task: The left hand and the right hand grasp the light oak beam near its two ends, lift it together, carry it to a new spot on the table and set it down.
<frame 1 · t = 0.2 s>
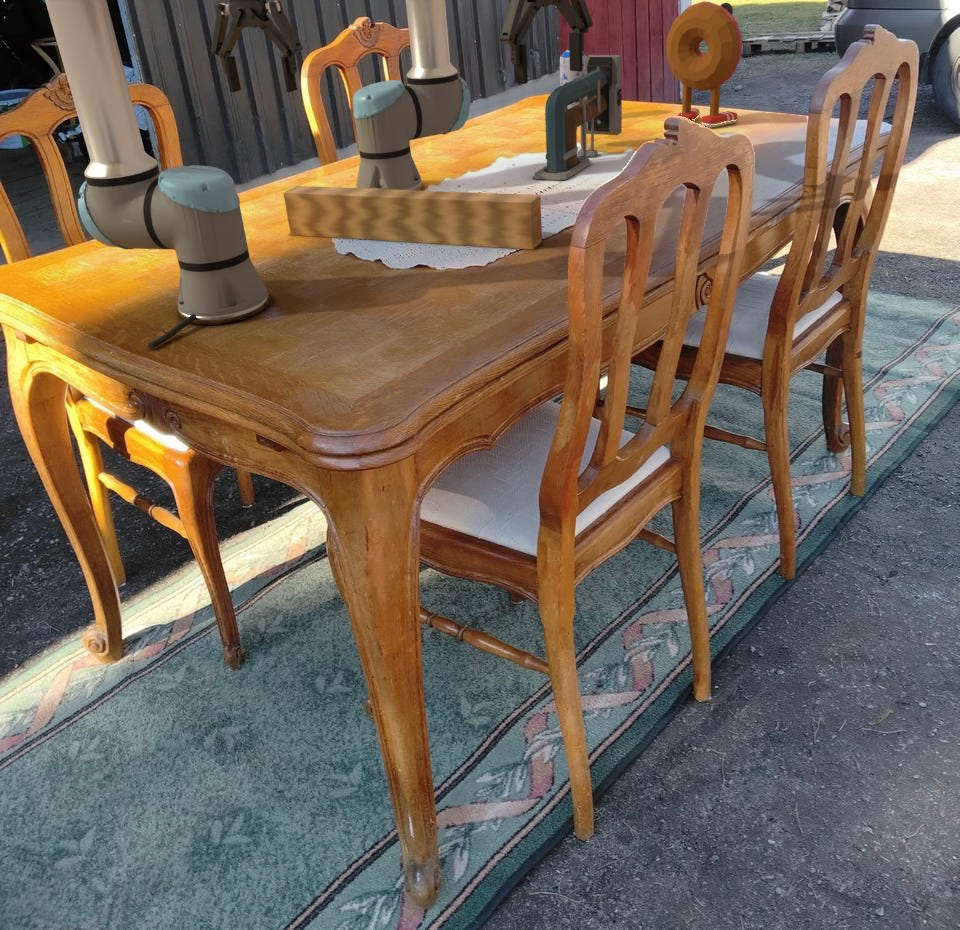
left hand: (263, 91, 196), 27 cm above the table, tool pointing down, fingers open, 13 cm apart
right hand: (549, 77, 178), 28 cm above the table, tool pointing down, fingers open, 13 cm apart
beam: (411, 237, 193), on the table
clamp: (578, 161, 236), on the table
aerosol can: (574, 120, 278), on the table
toy: (703, 124, 261), on the table
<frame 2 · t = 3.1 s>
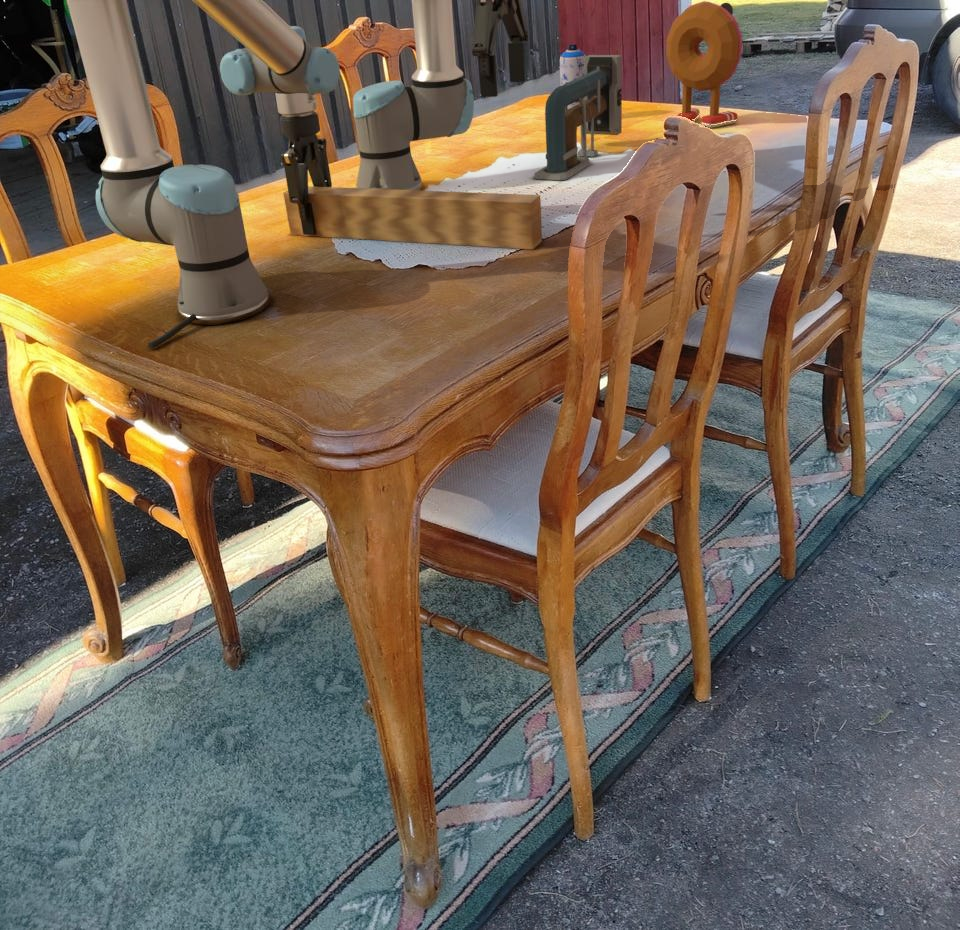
left hand: (317, 229, 201), 1 cm above the table, tool pointing down, fingers closed on beam, 5 cm apart
right hand: (504, 89, 171), 28 cm above the table, tool pointing down, fingers open, 13 cm apart
beam: (411, 237, 193), on the table, touching left hand
everything else where it was.
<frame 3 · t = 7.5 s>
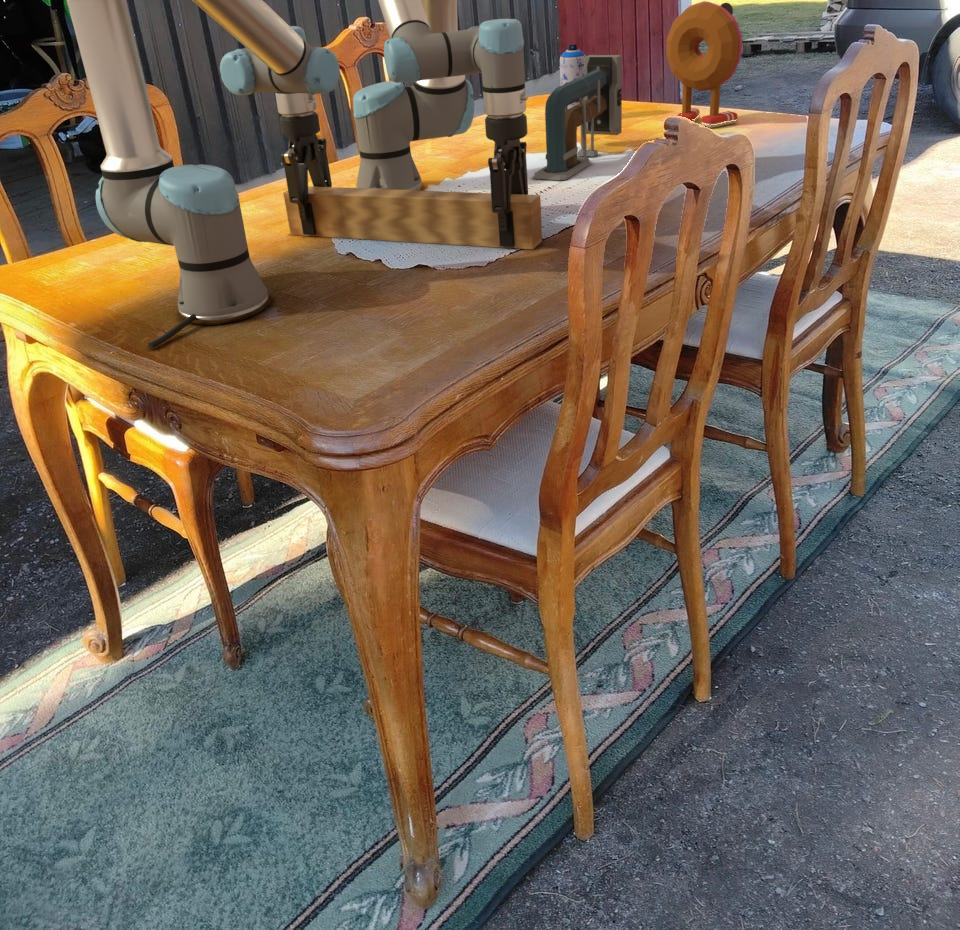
left hand: (317, 229, 201), 1 cm above the table, tool pointing down, fingers closed on beam, 5 cm apart
right hand: (512, 240, 185), 1 cm above the table, tool pointing down, fingers closed on beam, 5 cm apart
beam: (411, 237, 193), on the table, touching left hand, right hand
everything else where it was.
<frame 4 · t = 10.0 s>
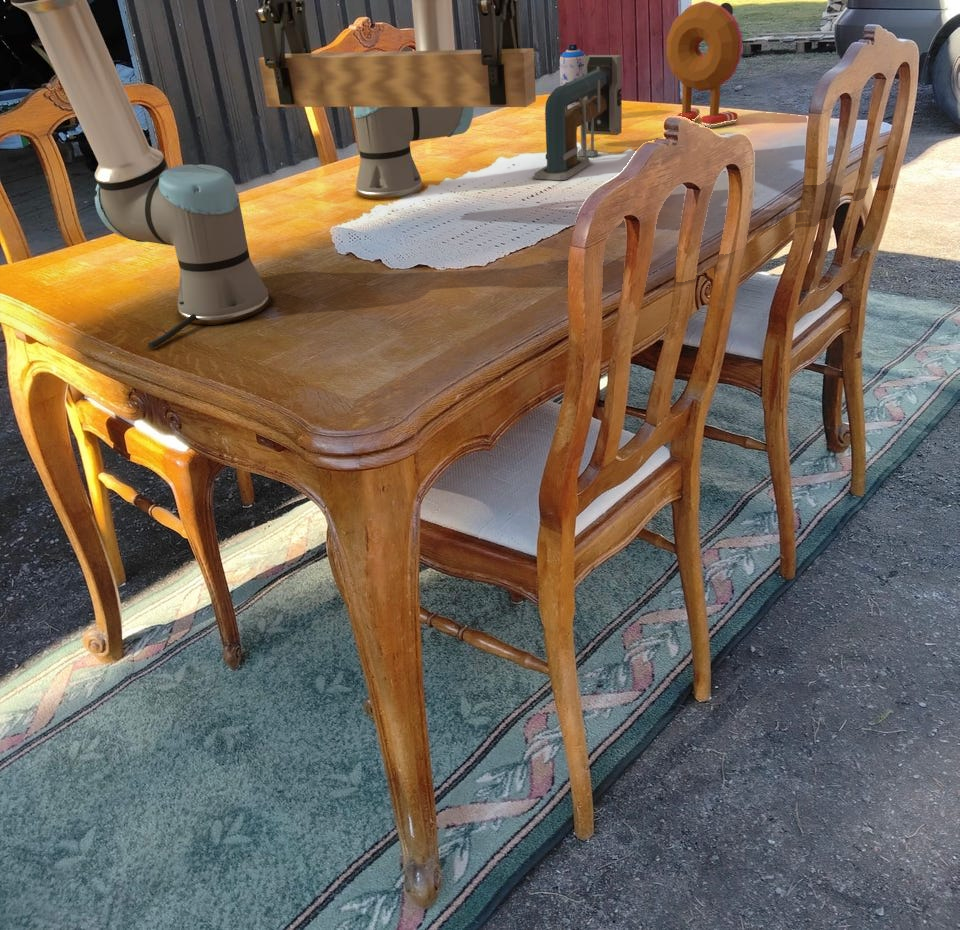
left hand: (295, 100, 188), 26 cm above the table, tool pointing down, fingers closed on beam, 5 cm apart
right hand: (504, 100, 172), 26 cm above the table, tool pointing down, fingers closed on beam, 5 cm apart
beam: (395, 104, 180), point 26 cm above the table, touching left hand, right hand
everything else where it was.
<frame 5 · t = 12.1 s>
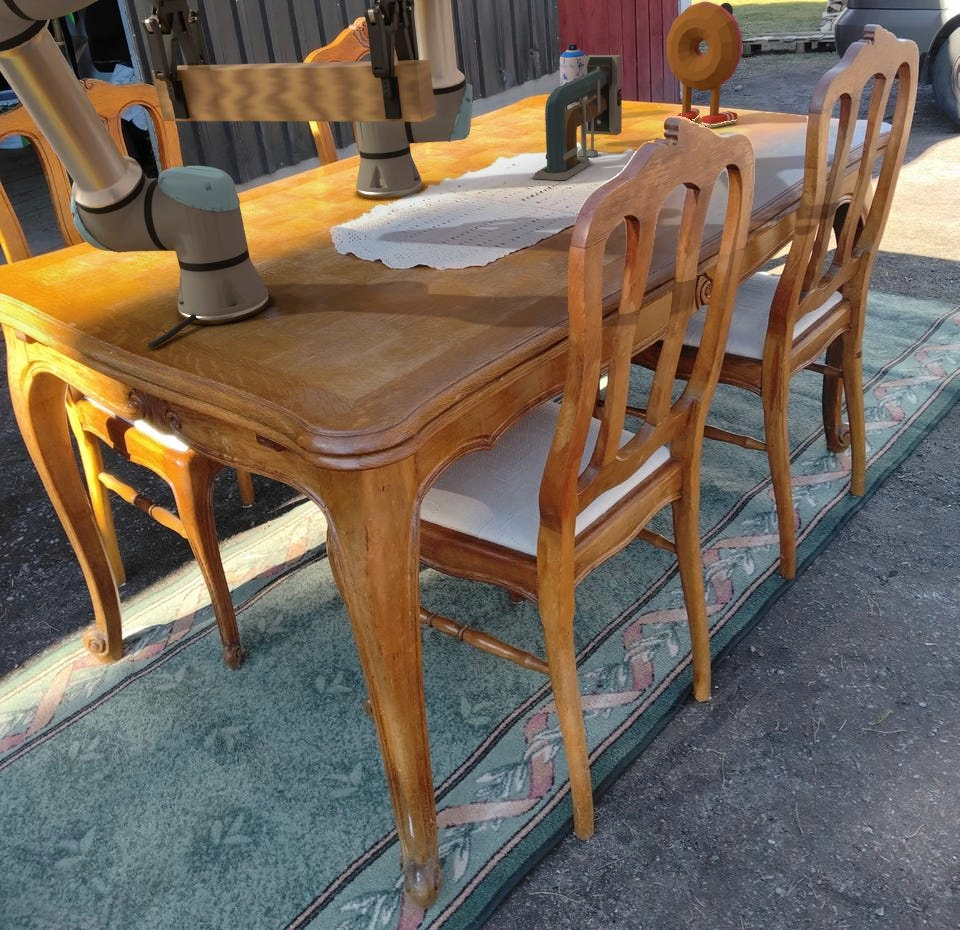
left hand: (192, 114, 179), 27 cm above the table, tool pointing down, fingers closed on beam, 5 cm apart
right hand: (401, 114, 163), 27 cm above the table, tool pointing down, fingers closed on beam, 5 cm apart
beam: (293, 118, 172), point 26 cm above the table, touching left hand, right hand
everything else where it was.
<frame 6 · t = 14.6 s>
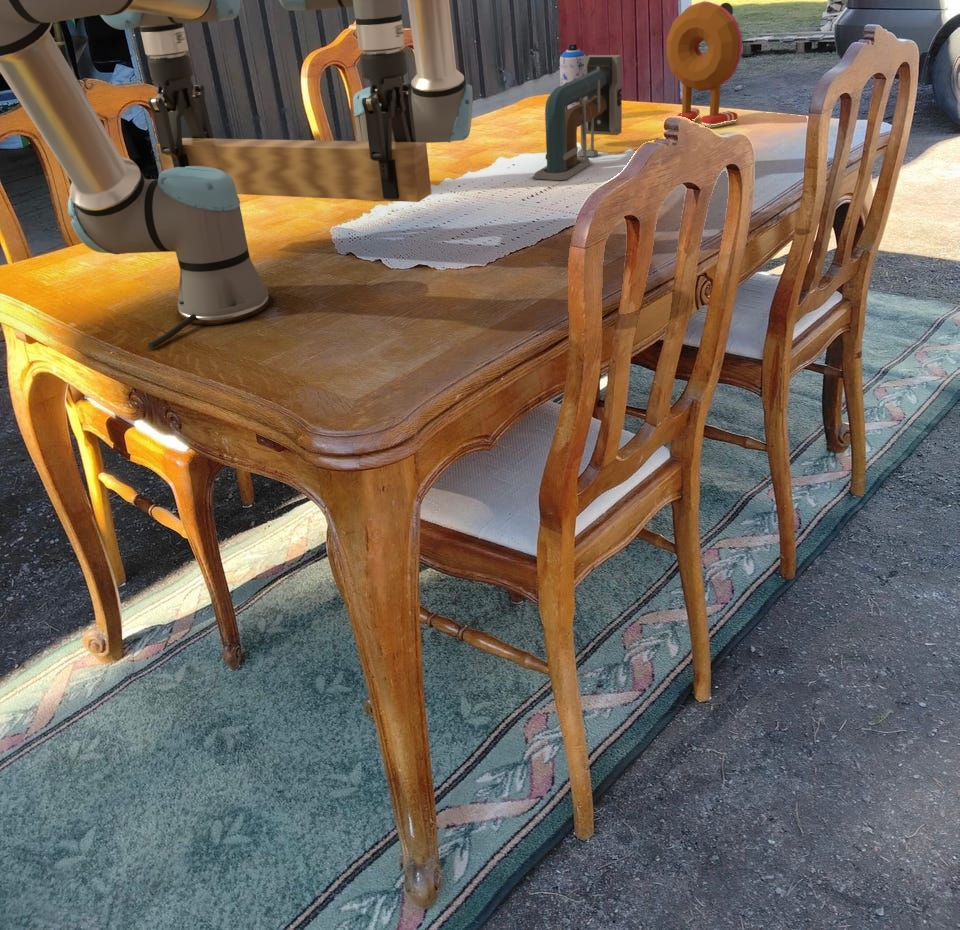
left hand: (197, 185, 185), 14 cm above the table, tool pointing down, fingers closed on beam, 5 cm apart
right hand: (399, 193, 169), 14 cm above the table, tool pointing down, fingers closed on beam, 5 cm apart
beam: (293, 192, 177), point 13 cm above the table, touching left hand, right hand
everything else where it was.
when the left hand's fingers open (2 cm above the table, at t = 16.8 s): beam drops 1 cm, on the table.
when the right hand's fingers open (2 cm above the table, at t = 16.8 s): beam drops 1 cm, on the table.
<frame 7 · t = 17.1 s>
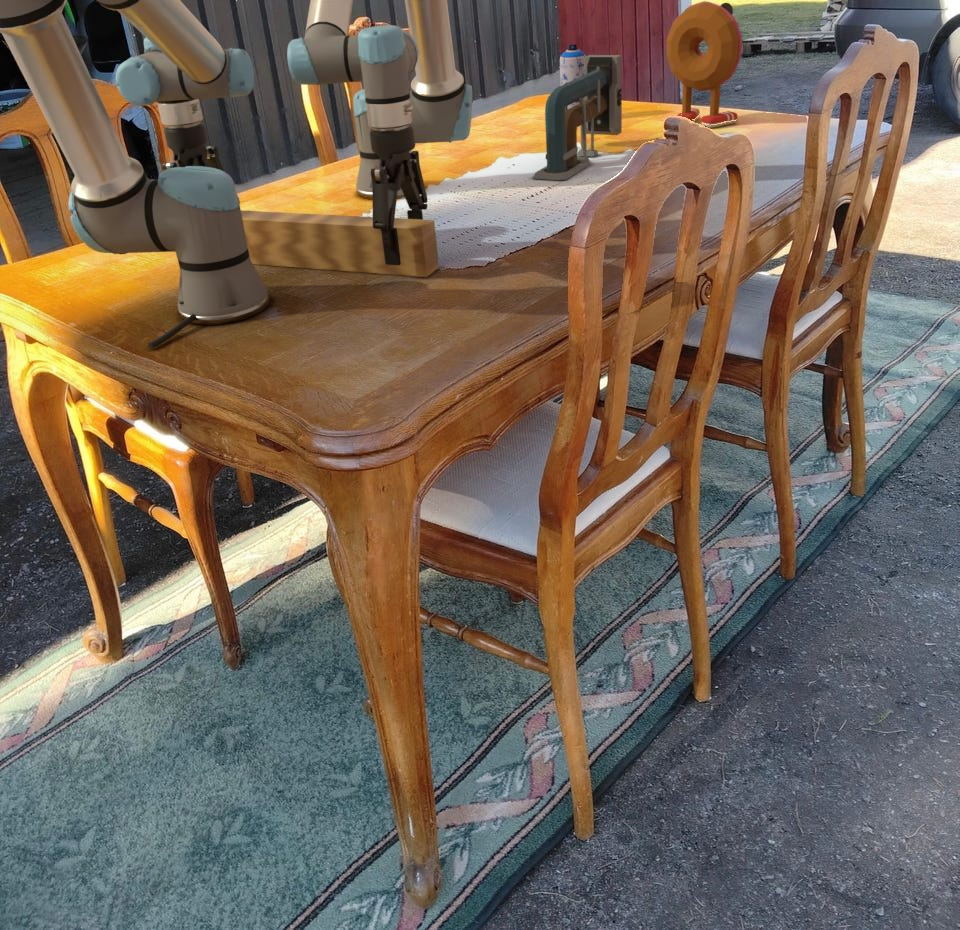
left hand: (209, 241, 191), 3 cm above the table, tool pointing down, fingers open, 9 cm apart
right hand: (406, 254, 175), 3 cm above the table, tool pointing down, fingers open, 9 cm apart
beam: (306, 263, 184), on the table
everything else where it was.
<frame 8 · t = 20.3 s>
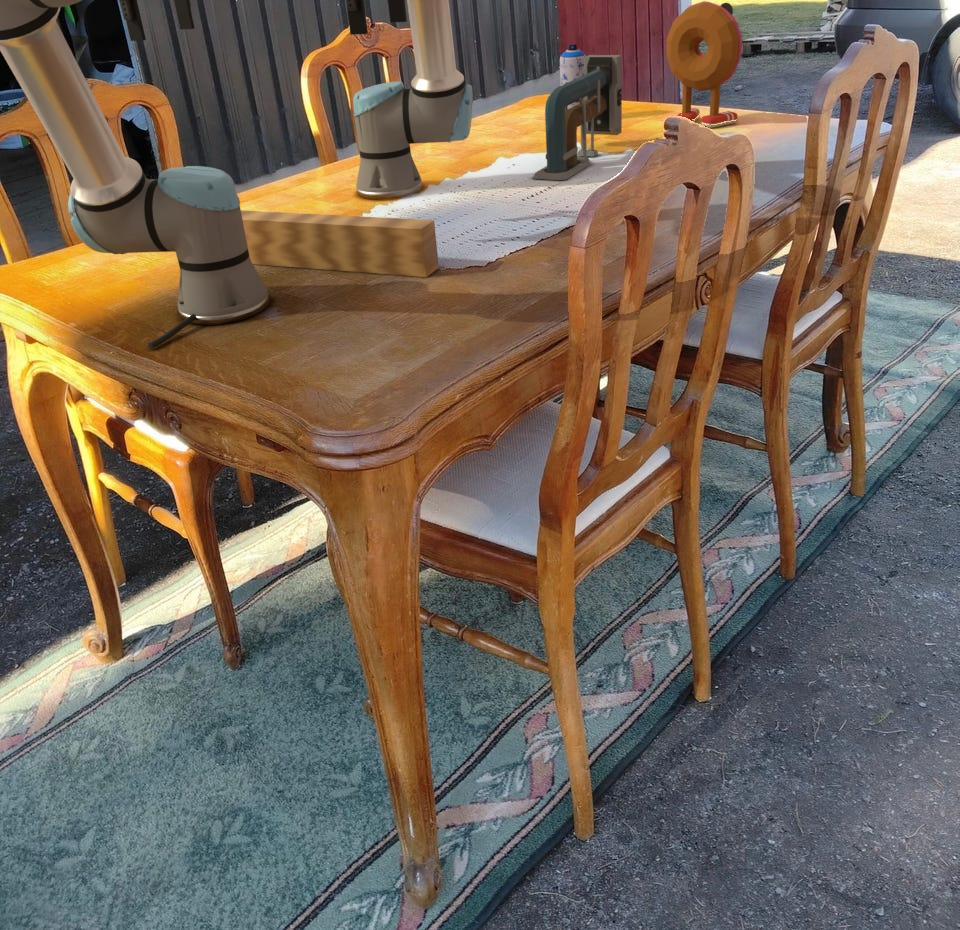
left hand: (163, 34, 172), 41 cm above the table, tool pointing down, fingers open, 13 cm apart
right hand: (379, 28, 156), 41 cm above the table, tool pointing down, fingers open, 13 cm apart
nothing on the table moved.
at the end: beam inside the target area (0.0 cm from its centre), on the table; beam tilted 0°; beam never tilted more than 1° during the clip; both hands held the beam at the same time; the left hand is holding nothing; the right hand is holding nothing; beam at rest at the end (0.0 cm/s) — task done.
